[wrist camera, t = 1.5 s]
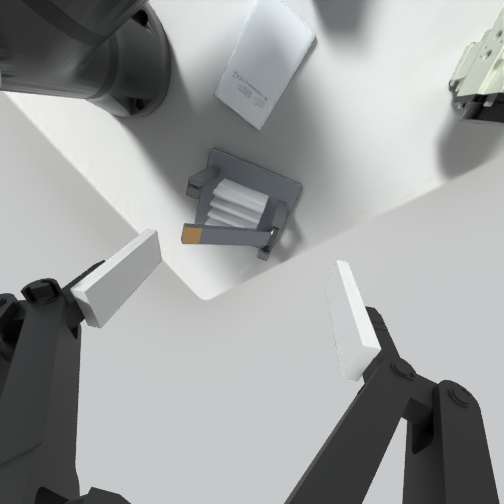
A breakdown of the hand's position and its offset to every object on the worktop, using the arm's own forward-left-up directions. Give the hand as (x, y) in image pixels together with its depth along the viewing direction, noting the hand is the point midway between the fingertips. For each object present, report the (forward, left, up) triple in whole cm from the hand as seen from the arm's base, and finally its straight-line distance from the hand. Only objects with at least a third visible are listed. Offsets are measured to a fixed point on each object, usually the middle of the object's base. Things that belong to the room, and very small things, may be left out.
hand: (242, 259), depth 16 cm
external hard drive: (-7, +13, -26) cm, 30 cm away
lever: (-2, -6, -13) cm, 14 cm away
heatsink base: (-3, -6, -25) cm, 26 cm away
